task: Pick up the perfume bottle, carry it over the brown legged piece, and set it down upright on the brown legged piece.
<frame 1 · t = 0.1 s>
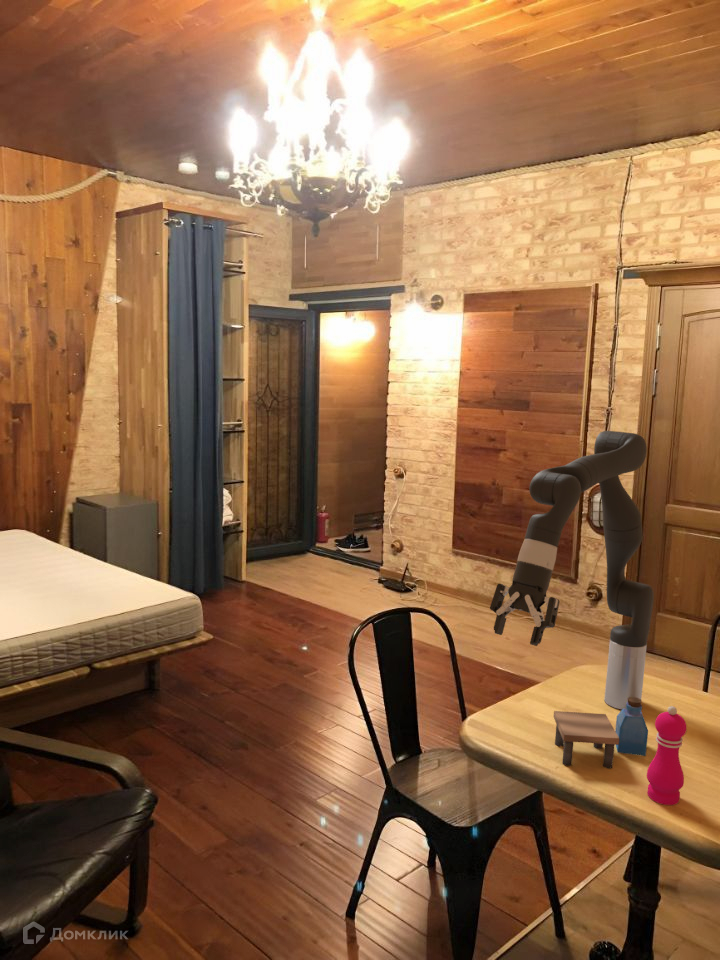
hand: (515, 639, 163), 31 cm above the table, tool tilted 20°, fingers open, 8 cm apart
perfume bottle: (629, 748, 184), on the table
brown legged piece: (582, 754, 180), on the table
pepper mill: (663, 798, 163), on the table
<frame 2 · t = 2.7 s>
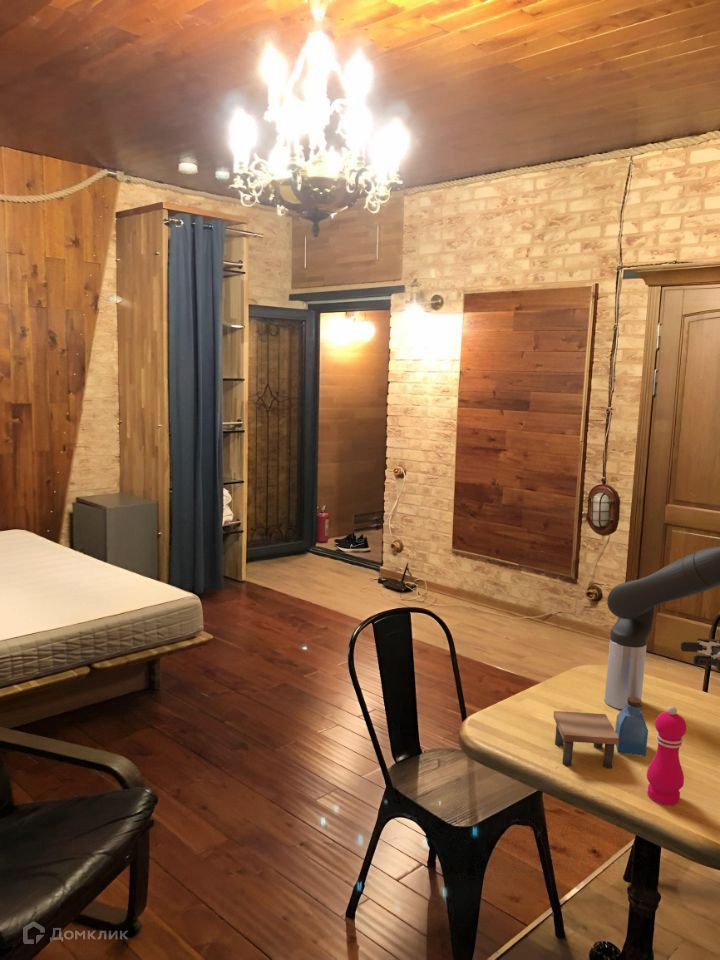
hand: (687, 652, 180), 24 cm above the table, tool horizontal, fingers open, 8 cm apart
nothing on the table moved.
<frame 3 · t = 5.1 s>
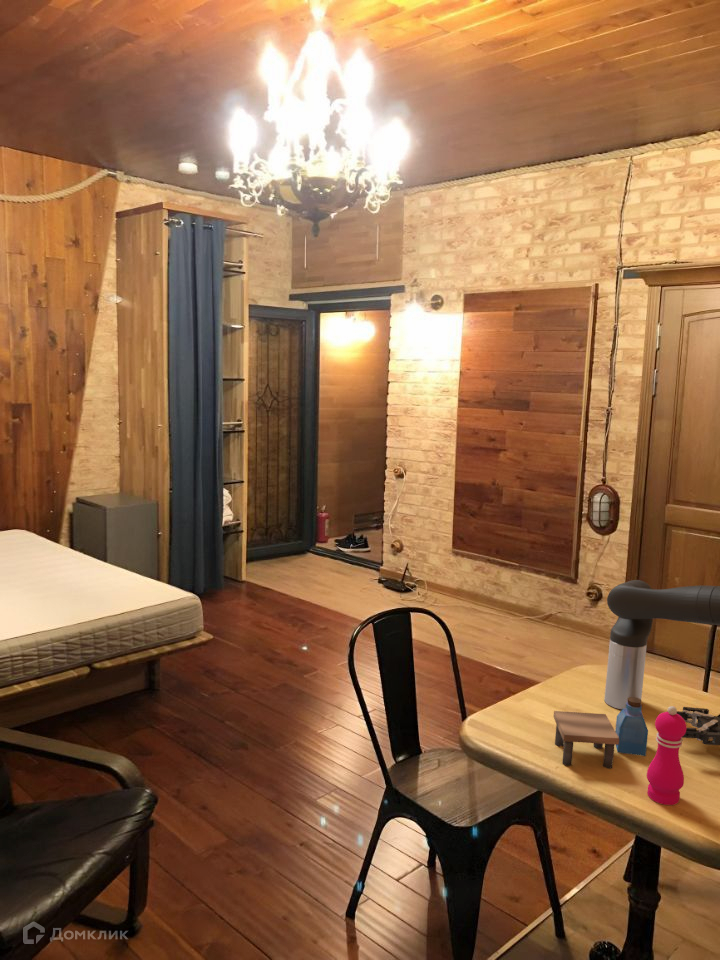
hand: (673, 723, 183), 7 cm above the table, tool horizontal, fingers open, 8 cm apart
nothing on the table moved.
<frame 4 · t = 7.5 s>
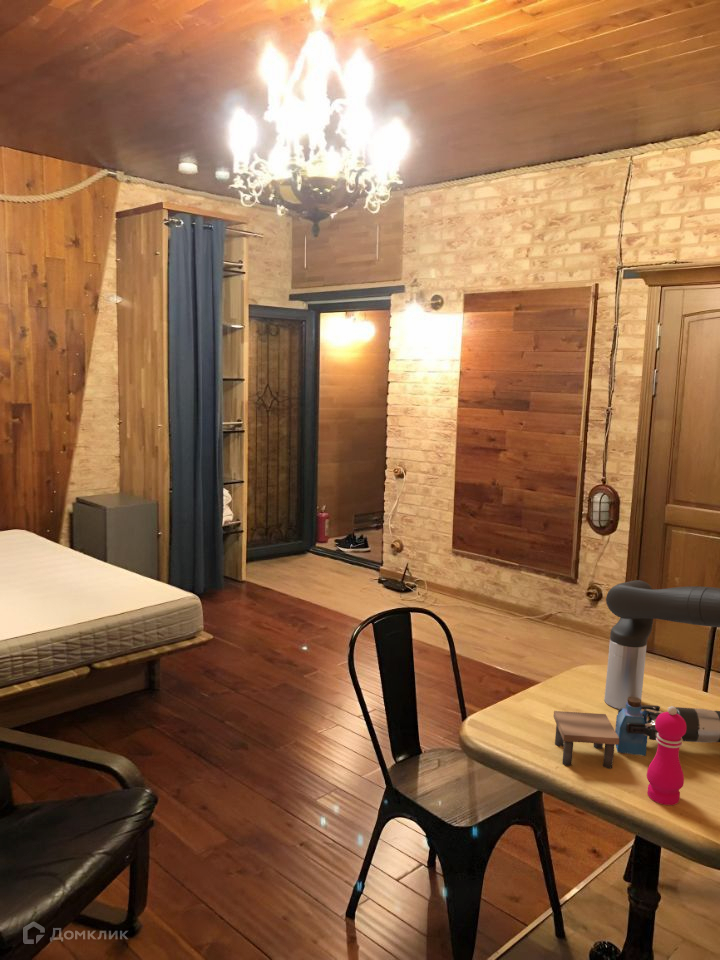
hand: (622, 720, 183), 7 cm above the table, tool horizontal, fingers closed on perfume bottle, 7 cm apart
perfume bottle: (629, 748, 184), on the table, touching gripper
everything else where it was.
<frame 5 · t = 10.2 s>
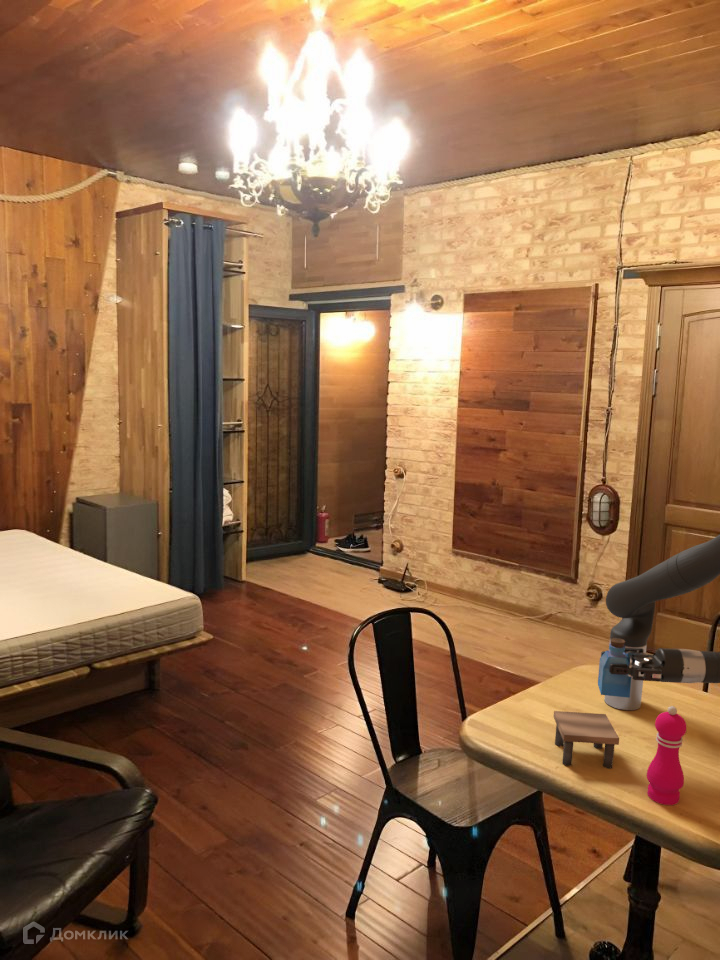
hand: (605, 662, 178), 22 cm above the table, tool horizontal, fingers closed on perfume bottle, 7 cm apart
perfume bottle: (613, 691, 179), point 15 cm above the table, touching gripper
everything else where it was.
when the fingers open (15 cm above the table, at t = 12.8 s): perfume bottle drops 1 cm, resting on brown legged piece.
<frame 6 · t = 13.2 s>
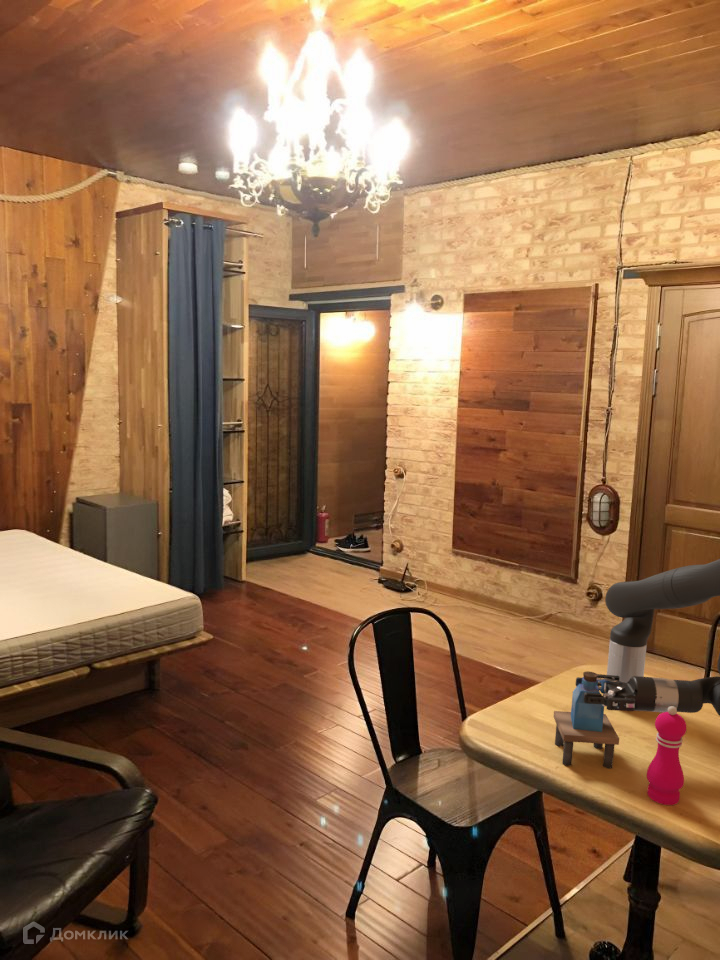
hand: (580, 690, 177), 16 cm above the table, tool horizontal, fingers open, 8 cm apart
perfume bottle: (585, 725, 179), point 7 cm above the table, touching brown legged piece
everything else where it was.
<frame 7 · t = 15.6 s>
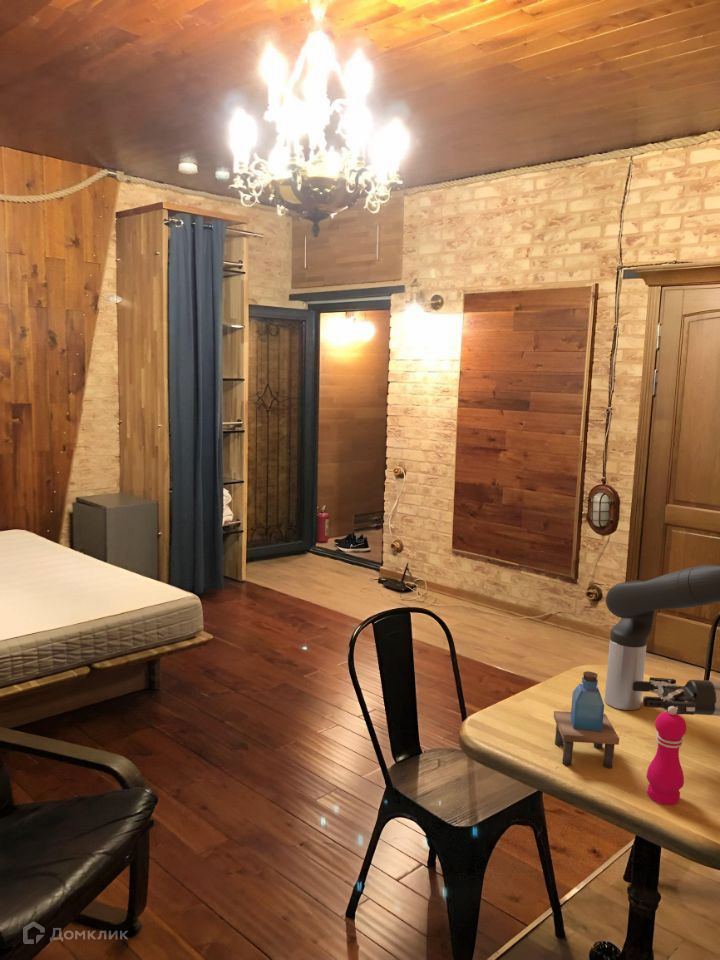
hand: (637, 693, 177), 16 cm above the table, tool horizontal, fingers open, 8 cm apart
nothing on the table moved.
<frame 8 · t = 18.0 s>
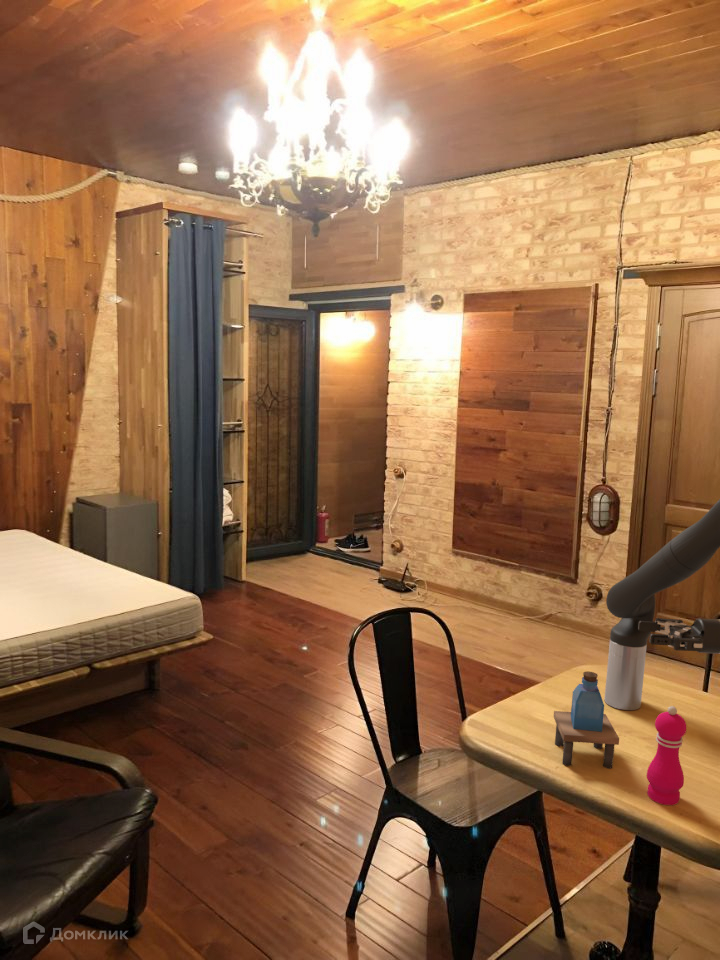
hand: (644, 632, 175), 30 cm above the table, tool horizontal, fingers open, 8 cm apart
nothing on the table moved.
at the end: perfume bottle inside the target area on the brown legged piece (0.1 cm from its centre), point 7.3 cm above the brown legged piece's base; perfume bottle tilted 0°; the gripper is holding nothing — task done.
